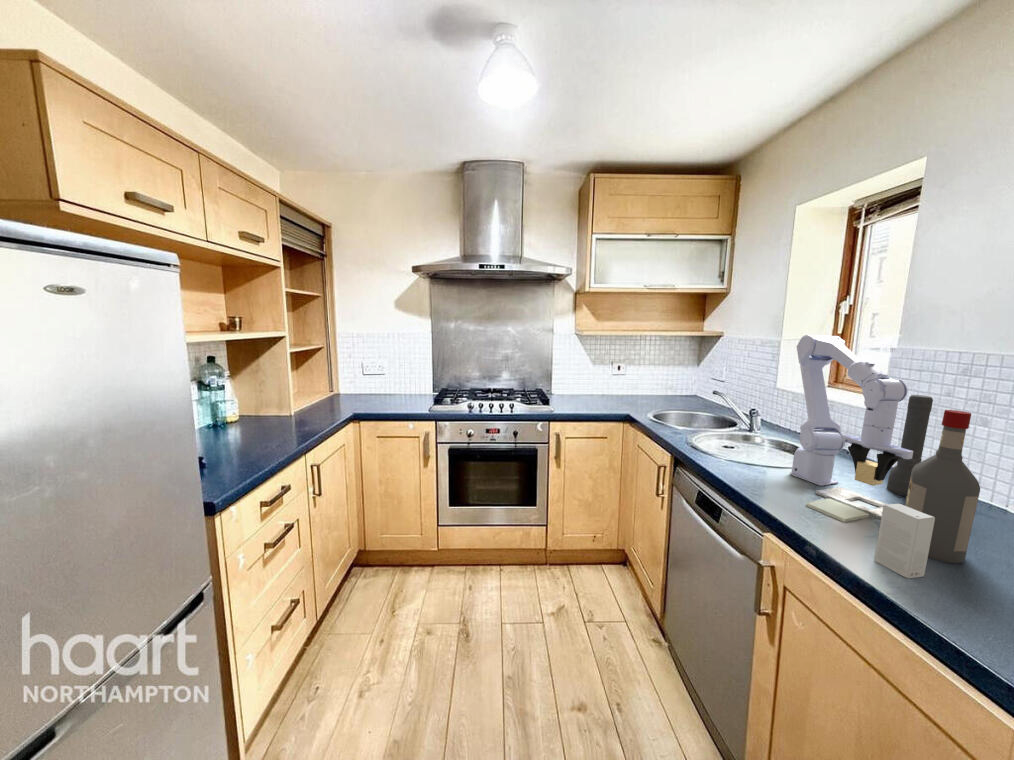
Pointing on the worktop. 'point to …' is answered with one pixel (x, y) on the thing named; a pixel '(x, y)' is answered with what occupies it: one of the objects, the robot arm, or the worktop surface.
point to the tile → (837, 510)
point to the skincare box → (904, 540)
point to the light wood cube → (867, 472)
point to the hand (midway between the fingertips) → (869, 476)
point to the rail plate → (847, 496)
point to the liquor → (947, 491)
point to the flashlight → (911, 443)
